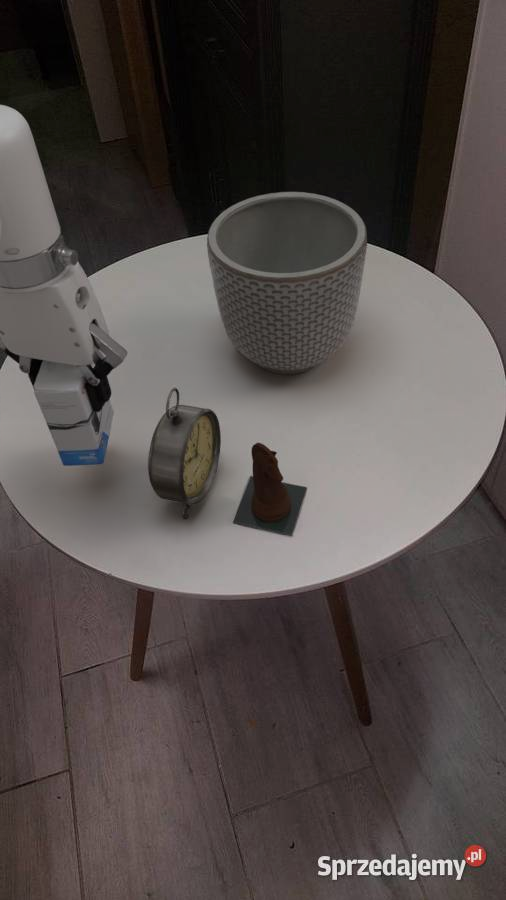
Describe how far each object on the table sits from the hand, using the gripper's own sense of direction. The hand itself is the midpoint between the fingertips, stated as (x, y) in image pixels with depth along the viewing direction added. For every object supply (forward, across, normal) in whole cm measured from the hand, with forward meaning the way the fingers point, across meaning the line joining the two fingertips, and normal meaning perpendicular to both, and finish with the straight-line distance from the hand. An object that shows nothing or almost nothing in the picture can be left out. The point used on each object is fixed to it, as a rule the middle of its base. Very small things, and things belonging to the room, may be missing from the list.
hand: (74, 396), depth 75 cm
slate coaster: (+13, -22, 0) cm, 25 cm away
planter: (+13, -17, -27) cm, 34 cm away
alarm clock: (+13, -12, 0) cm, 18 cm away
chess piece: (+13, -22, 0) cm, 25 cm away
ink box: (+7, 0, 0) cm, 7 cm away
